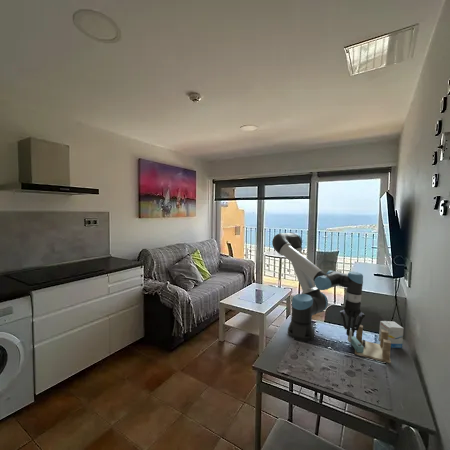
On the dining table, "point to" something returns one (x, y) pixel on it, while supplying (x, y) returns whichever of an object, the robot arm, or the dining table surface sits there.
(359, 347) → the hinged leg
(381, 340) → the stool seat
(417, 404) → the dining table surface
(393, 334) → the ink box
